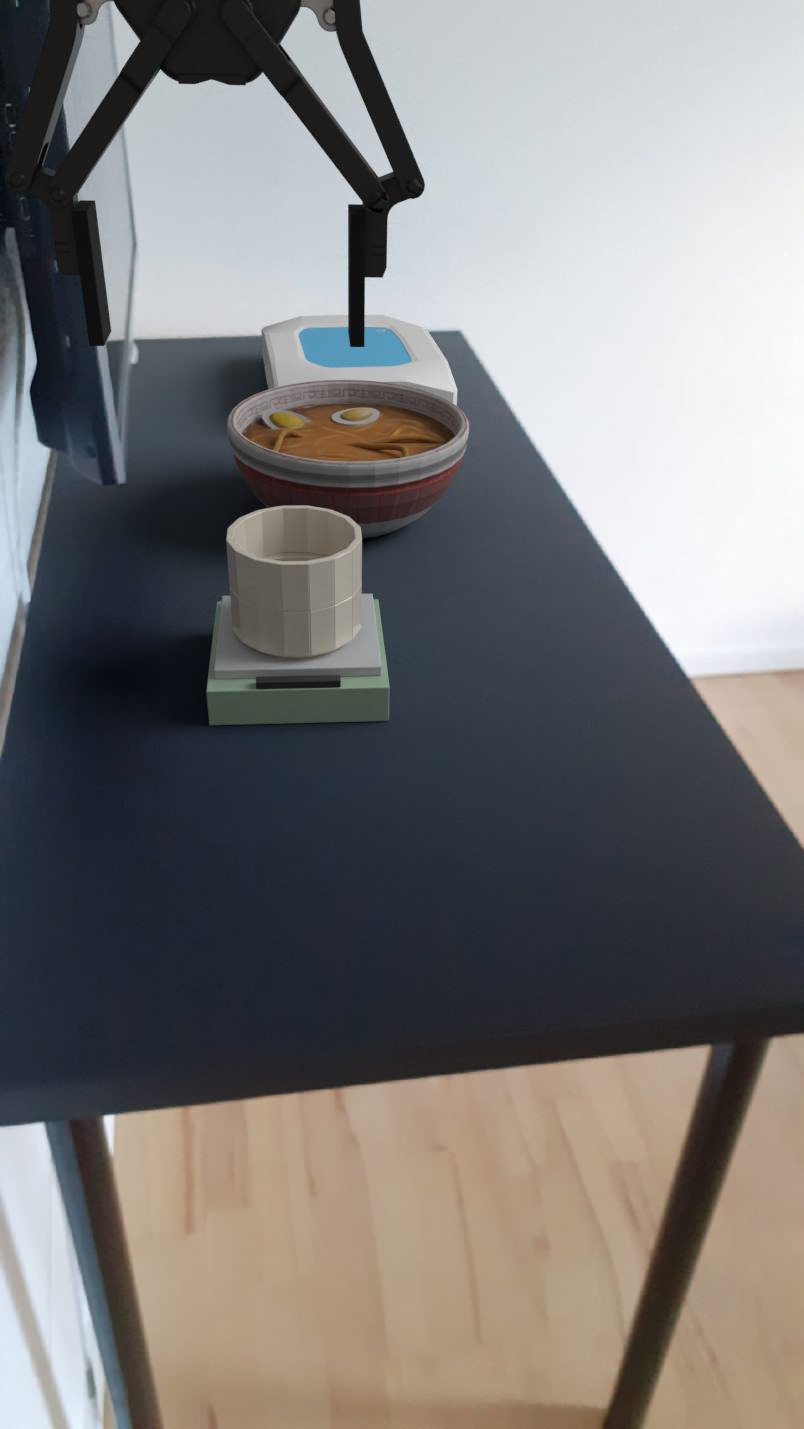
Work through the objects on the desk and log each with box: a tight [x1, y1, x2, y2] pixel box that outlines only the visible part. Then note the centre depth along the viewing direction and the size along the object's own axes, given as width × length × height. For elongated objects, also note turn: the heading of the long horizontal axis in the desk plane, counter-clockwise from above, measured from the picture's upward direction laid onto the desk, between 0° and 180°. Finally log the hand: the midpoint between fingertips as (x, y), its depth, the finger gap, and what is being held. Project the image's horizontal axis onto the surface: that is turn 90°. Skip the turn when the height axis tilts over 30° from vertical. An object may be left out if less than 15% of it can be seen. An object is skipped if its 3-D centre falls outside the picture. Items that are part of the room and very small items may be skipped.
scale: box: [205, 593, 391, 726], centre depth 83 cm, size 13×13×4 cm
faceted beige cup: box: [225, 505, 363, 658], centre depth 80 cm, size 10×10×8 cm
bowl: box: [226, 380, 470, 539], centre depth 105 cm, size 23×23×10 cm
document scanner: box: [261, 314, 458, 407], centre depth 135 cm, size 21×28×6 cm
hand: (229, 340), depth 58 cm, fingers open, 13 cm apart
